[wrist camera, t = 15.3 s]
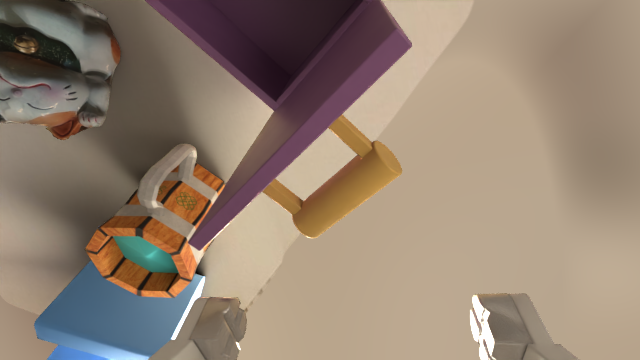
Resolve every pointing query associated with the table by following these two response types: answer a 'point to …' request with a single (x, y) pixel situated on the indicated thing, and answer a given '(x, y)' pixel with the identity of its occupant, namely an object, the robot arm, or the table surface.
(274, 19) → the box
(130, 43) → the table surface
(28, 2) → the lucky cat figurine
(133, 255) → the wooden beer tankard
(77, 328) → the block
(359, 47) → the lid
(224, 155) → the table surface
